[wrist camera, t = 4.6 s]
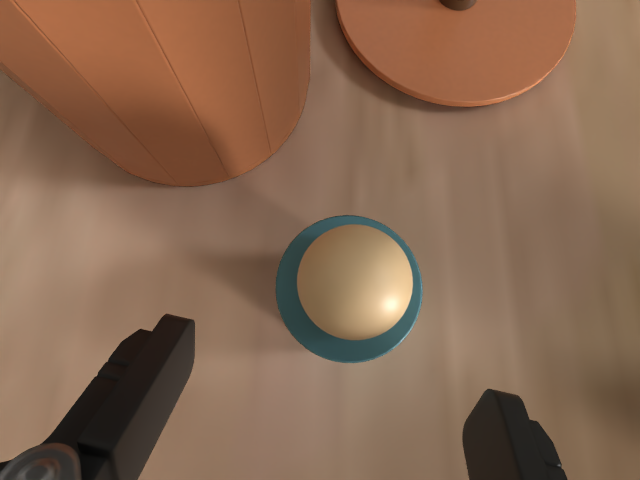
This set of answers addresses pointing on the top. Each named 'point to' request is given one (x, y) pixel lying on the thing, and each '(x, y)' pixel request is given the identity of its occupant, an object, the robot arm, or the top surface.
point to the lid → (459, 45)
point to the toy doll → (349, 289)
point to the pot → (165, 78)
